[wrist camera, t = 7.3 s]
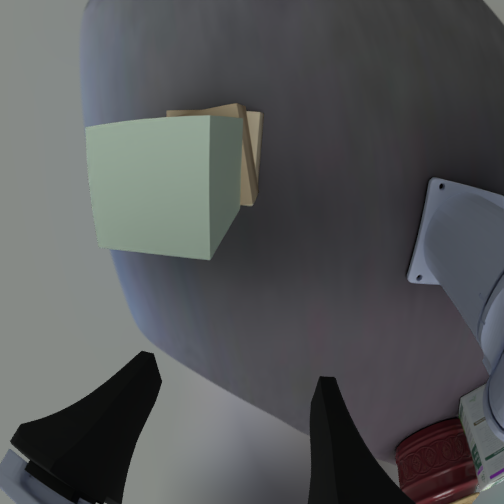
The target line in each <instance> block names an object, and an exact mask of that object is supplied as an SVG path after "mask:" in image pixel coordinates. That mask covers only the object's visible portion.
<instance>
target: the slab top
mask: <svg viewBox="0 0 504 504" xmlns="http://www.w3.org/2000/svg"><path fill="white" fill-rule="evenodd" d="M203 115H212V116H225V117H235V118H243V135H242V163H241V195H240V205H246V204H253V202H254V200H255V198H256V196H257V195H258V193H259V190H258V183H257V177H256V170H255V163H254V157H253V151H252V144H251V138H250V131H249V125H248V119H247V113H246V107H245V106H243V105H240V104H238V103H235V104H229V105H224V106H219V107H214V108H209V109H204V110H200V111H196V112H191V113H187V114H183V115H179V116H203ZM175 117H178V116H175Z"/></svg>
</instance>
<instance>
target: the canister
mask: <svg viewBox="0 0 504 504" xmlns="http://www.w3.org/2000/svg"><path fill="white" fill-rule="evenodd" d="M395 460H396V465H397V467H398V476H399V485H400V489H401V490H402V491H403V492H404V493H405V494H406V495H407V496H408V497H409V498H411V499H412V500H413V501H414V502H415V503H416V504H472V503H473V501H474V500H475V499H476V498H477V496H479V494H480V493H479V492H477V493H476V489H477V486H478V485H479V484H478V479H477V475H476V471H475V467H474V463H473V460H472V456H471V452H470V449H469V446H468V443H467V439H466V436H465V433H464V430H463V427H462V424H461V421H460V419H450V420H446V421H443V422H439V423H437V424H434V425H432V426H429V427H427V428H425V429H423V430H421V431H419V432H417V433H415V434H413V435H412V436H410V437H408V438H407V439H406V440H404V441H403V442H402V443H401V444H400V445H399V446H398V447H397V449H396V456H395Z"/></svg>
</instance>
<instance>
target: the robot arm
mask: <svg viewBox="0 0 504 504" xmlns="http://www.w3.org/2000/svg"><path fill="white" fill-rule="evenodd" d="M441 183H442V184H443V187H442V188H441V189H439V185H440V184H441ZM418 275H420V277H419V278H417V276H418ZM407 279H408V281H409V282H410V283H419V284H435V285H441V286H442V288H443V289H444V290H445V292H446V293H447V295H448V296H449V298H450V299H451V300H452V302H453V303H454V305H455V306H456V308H457V309H458V311H459V312H460V314H461V316H462V317H463V319H464V320H465V322H466V323H467V325H468V327H469V328H470V330H471V331H472V333H473V335H474V336H475V338H476V340H477V341H478V343H479V345H480V347H481V348H482V350H483V352H484V358H483V361H482V362H483V364H484V365H485V367H486V369H487V371H488V373H489V375H490V376H489V378H488V380H487V383H486V385H485V389H484V392H483V411H484V416H485V419H486V422H487V424H488V426H489V427H490V429H491V431H492V432H493V433H494V434H495V436H497V437H498V438H499V439H500V440H501V441H503V442H504V196H503V195H500V194H496V193H493V192H490V191H486V190H483V189H479V188H476V187H472V186H468V185H465V184H461V183H457V182H453V181H449V180H444V179H440V178H436V177H433V178H431V179H430V180H429V183H428V189H427V194H426V200H425V205H424V210H423V215H422V219H421V224H420V228H419V232H418V237H417V241H416V244H415V248H414V252H413V256H412V259H411V263H410V266H409V270H408V273H407ZM161 383H162V380H161V376H160V373H159V370H158V367H157V363H156V360H155V357H154V354H153V353H148V352H145V351H141V352H140V353H139V354H138V355H136V356H135V357H134V358H133V359H132V360H131V361H130V362H129V363H127V364H126V365H125V366H124V367H123V368H122V369H121V370H120V371H118V372H117V373H116V374H115V375H114V376H112V377H111V378H110V379H109V380H108V381H106V382H105V383H104V384H102V385H101V386H100V387H98V388H97V389H96V390H94V391H93V392H92V393H90V394H89V395H87V396H86V397H84V398H83V399H81V400H80V401H78V402H76V403H74V404H73V405H71V406H69V407H67V408H65V409H63V410H61V411H59V412H57V413H54V414H52V415H49V416H47V417H44V418H42V419H38V420H35V421H31V422H28V423H24V424H21V425H20V426H19V428H18V429H17V431H16V433H15V434H14V436H13V437H12V439H11V441H10V442H11V444H12V445H13V446H14V447H15V448H17V449H18V450H19V451H20V452H21V453H22V454H24V455H25V456H26V457H27V458H28V459H30V461H29V463H27V462H26V461H25V460H23V459H22V458H21V457H20V456H18V455H17V454H16V453H15V452H13V451H12V450H11V449H9V450H8V452H7V454H6V455H5V457H4V459H3V461H2V462H1V464H0V488H1V489H2V490H3V491H4V492H5V493H6V494H7V495H8V496H9V497H10V498H11V499H12V500H13V501H14V502H15V503H16V504H95V503H96V502H97V503H99V504H104V502H105V503H107V504H122V498H123V492H124V486H125V482H126V477H127V473H128V469H129V465H130V461H131V458H132V455H133V452H134V449H135V445H136V442H137V440H138V438H139V435H140V433H141V431H142V429H143V427H144V425H145V422H146V420H147V418H148V416H149V414H150V412H151V410H152V408H153V406H154V404H155V401H156V399H157V396H158V393H159V390H160V386H161ZM310 443H311V480H310V490H309V498H308V504H416V503H415V502H414V501H413V500H412V499H411V498H409V497H408V496H407V495H406V494H405V493H404V492H403V491H402V490H401V489H400V488H399V487H398V486H397V485H396V484H395V483H394V482H393V481H392V480H391V478H390V477H389V476H388V475H387V473H386V472H385V471H384V470H383V469H382V467H381V466H380V465H379V464H378V462H377V461H376V459H375V458H374V457H373V455H372V454H371V452H370V451H369V449H368V448H367V446H366V444H365V443H364V441H363V439H362V437H361V436H360V434H359V432H358V430H357V428H356V426H355V424H354V422H353V420H352V418H351V416H350V414H349V412H348V410H347V407H346V405H345V403H344V400H343V398H342V395H341V393H340V390H339V387H338V384H337V381H336V378H335V377H322V376H320V377H319V380H318V383H317V386H316V390H315V393H314V395H313V398H312V401H311V410H310Z"/></svg>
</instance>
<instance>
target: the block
mask: <svg viewBox="0 0 504 504" xmlns="http://www.w3.org/2000/svg"><path fill="white" fill-rule="evenodd" d="M242 135H243V118H235V117H225V116H212V115H203V116H178V117H163V118H151V119H141V120H132V121H123V122H116V123H109V124H102V125H96V126H90V127H86V152H87V166H88V177H89V187H90V196H91V203H92V210H93V218H94V224H95V230H96V236H97V241H98V246H99V248H107V249H115V250H124V251H132V252H141V253H149V254H158V255H167V256H176V257H185V258H194V259H204V260H211V258H212V256H213V255H214V253H215V251H216V250H217V248H218V246H219V244H220V243H221V241H222V239H223V237H224V236H225V234H226V232H227V231H228V229H229V227H230V225H231V224H232V222H233V220H234V219H235V217H236V215H237V214H238V212H239V210H240V195H241V163H242Z"/></svg>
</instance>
